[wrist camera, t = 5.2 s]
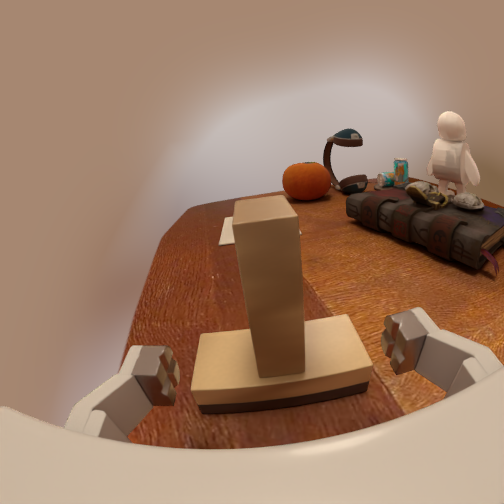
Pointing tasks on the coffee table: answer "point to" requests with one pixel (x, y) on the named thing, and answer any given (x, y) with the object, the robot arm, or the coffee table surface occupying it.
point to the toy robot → (452, 156)
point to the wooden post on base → (276, 328)
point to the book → (433, 220)
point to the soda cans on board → (393, 175)
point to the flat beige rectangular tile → (229, 232)
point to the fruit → (306, 181)
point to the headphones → (342, 139)
